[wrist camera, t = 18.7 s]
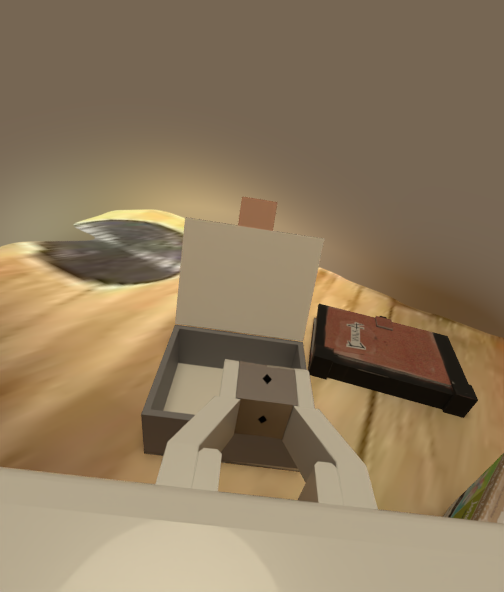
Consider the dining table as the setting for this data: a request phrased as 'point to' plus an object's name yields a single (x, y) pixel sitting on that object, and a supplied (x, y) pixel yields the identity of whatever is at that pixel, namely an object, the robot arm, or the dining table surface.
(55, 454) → the dining table surface
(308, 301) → the lid
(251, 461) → the box
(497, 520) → the tea box
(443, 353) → the book
